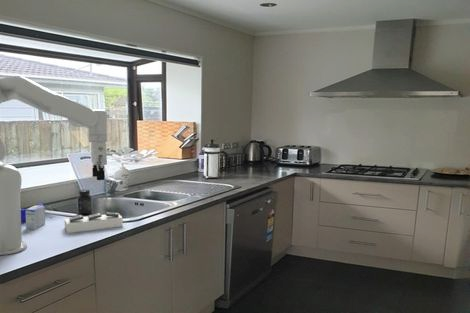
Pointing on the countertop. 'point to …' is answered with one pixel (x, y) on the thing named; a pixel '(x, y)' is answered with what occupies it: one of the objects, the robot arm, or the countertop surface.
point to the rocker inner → (76, 218)
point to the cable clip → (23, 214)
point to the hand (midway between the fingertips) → (98, 178)
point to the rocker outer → (112, 214)
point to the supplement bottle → (84, 203)
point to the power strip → (92, 223)
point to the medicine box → (35, 217)
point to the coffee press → (213, 160)
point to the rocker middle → (94, 216)
